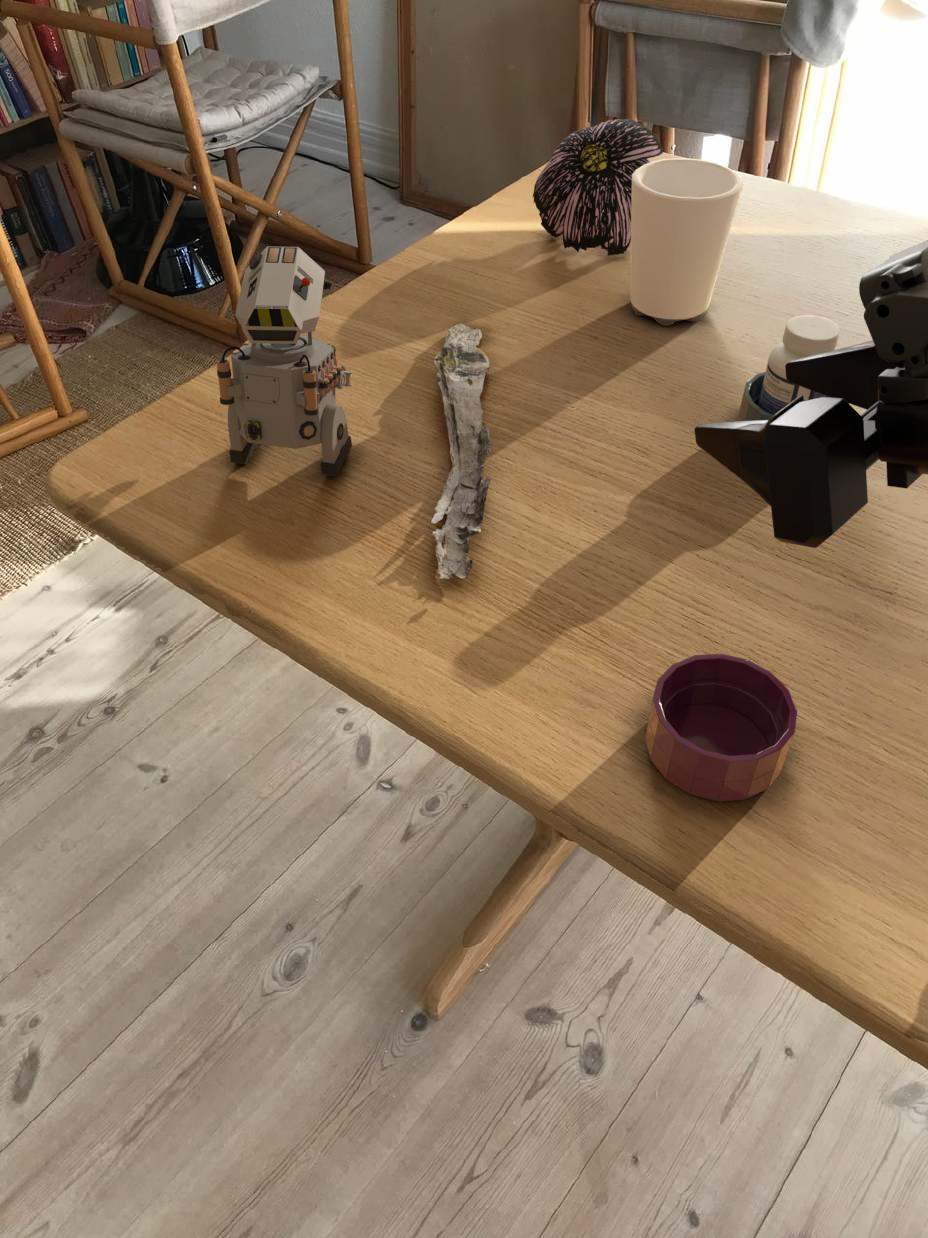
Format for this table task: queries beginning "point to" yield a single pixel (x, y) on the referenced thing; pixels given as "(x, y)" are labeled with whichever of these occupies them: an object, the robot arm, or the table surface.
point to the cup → (679, 235)
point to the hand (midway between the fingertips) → (743, 401)
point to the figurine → (283, 363)
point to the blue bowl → (753, 400)
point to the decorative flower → (594, 184)
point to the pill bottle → (798, 342)
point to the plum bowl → (720, 726)
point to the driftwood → (462, 449)
